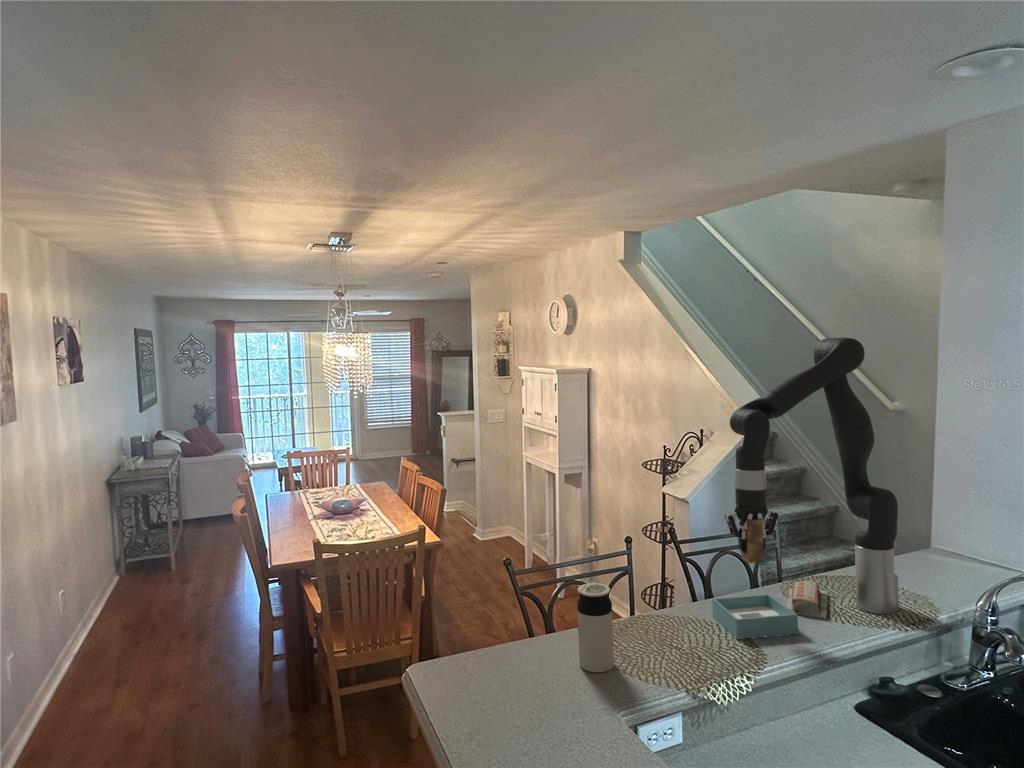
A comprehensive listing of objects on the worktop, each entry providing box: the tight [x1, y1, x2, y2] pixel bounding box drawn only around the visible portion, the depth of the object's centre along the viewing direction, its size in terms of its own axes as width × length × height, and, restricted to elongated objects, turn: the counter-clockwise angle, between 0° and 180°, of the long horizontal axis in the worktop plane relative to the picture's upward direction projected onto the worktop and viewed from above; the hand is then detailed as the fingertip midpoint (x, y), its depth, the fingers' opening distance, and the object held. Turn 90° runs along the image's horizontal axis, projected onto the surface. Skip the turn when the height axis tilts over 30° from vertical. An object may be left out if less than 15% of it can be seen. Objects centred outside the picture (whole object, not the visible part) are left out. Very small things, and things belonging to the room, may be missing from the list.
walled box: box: [712, 593, 799, 640], centre depth 159 cm, size 16×14×5 cm
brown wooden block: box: [740, 519, 765, 564], centre depth 159 cm, size 4×4×11 cm
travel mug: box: [576, 582, 615, 673], centre depth 142 cm, size 8×8×18 cm
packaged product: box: [786, 579, 828, 619], centre depth 172 cm, size 18×5×10 cm
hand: (752, 551), depth 159 cm, fingers closed on brown wooden block, 4 cm apart
